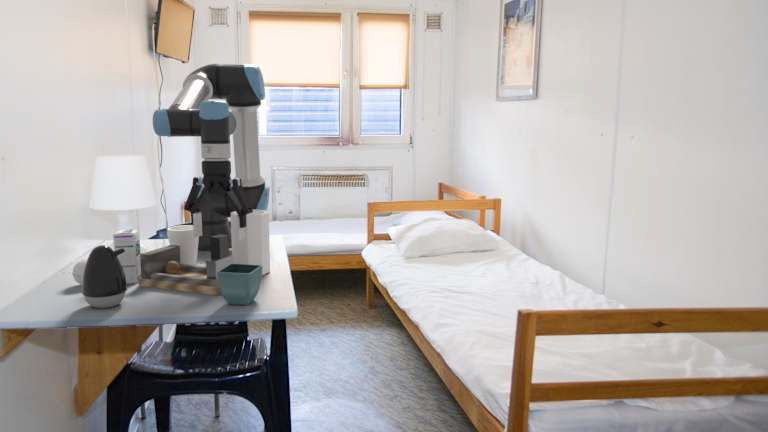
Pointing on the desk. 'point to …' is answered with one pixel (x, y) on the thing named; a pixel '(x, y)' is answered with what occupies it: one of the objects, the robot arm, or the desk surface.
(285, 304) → the desk surface
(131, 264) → the syrup box
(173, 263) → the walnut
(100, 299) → the pump dispenser
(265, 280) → the desk surface
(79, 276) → the white ball
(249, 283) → the flower pot
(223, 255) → the block
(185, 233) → the foam cup
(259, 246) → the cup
